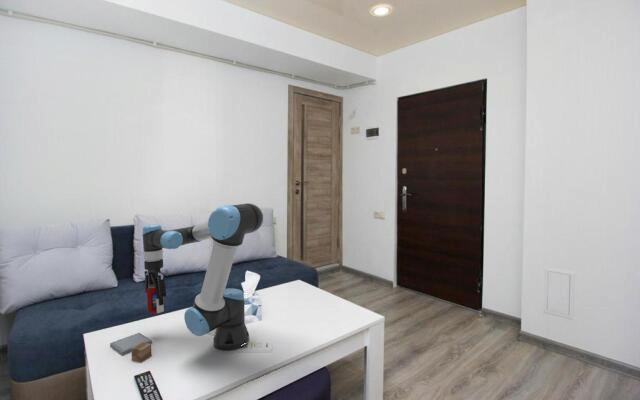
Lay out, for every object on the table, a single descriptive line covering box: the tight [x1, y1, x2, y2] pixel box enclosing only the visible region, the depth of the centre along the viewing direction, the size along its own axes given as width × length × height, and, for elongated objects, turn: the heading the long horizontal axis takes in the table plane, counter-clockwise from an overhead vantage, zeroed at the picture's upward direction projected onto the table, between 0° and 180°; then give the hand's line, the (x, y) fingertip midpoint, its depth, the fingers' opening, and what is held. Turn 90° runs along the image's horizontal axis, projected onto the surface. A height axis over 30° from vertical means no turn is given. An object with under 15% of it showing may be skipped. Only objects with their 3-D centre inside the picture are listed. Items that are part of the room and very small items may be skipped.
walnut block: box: [130, 342, 153, 363], centre depth 133 cm, size 5×5×5 cm
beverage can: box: [146, 284, 165, 314], centre depth 149 cm, size 7×7×12 cm
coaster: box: [109, 332, 153, 356], centre depth 143 cm, size 12×12×2 cm
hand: (156, 310), depth 149 cm, fingers closed on beverage can, 7 cm apart
